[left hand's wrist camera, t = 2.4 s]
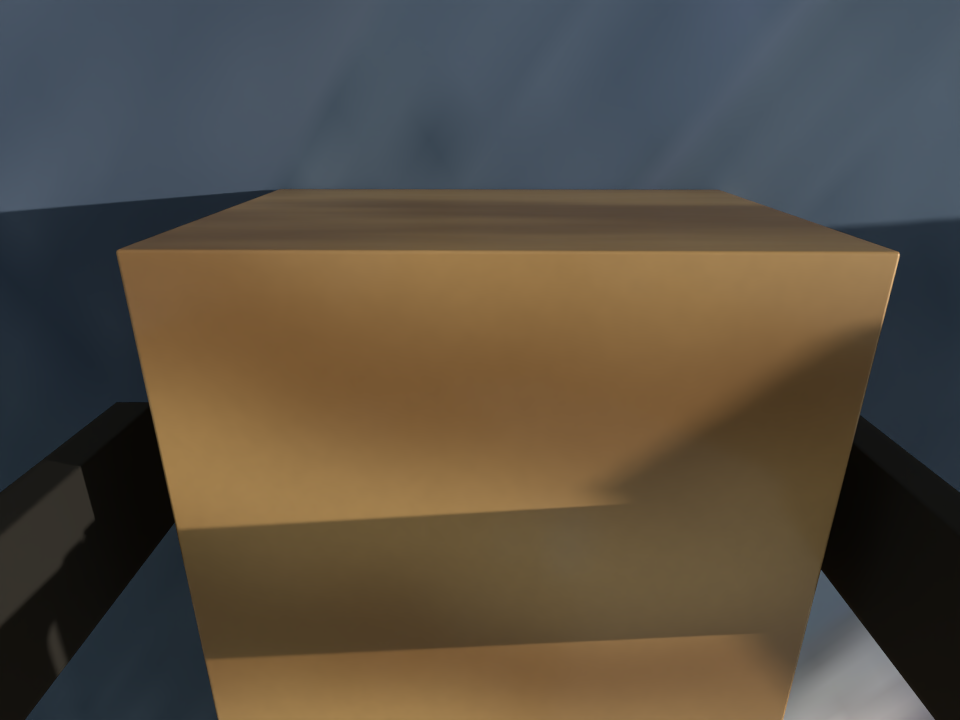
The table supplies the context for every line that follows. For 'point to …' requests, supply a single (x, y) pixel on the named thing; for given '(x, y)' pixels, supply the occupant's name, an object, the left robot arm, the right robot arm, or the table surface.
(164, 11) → the table surface
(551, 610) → the wide beam
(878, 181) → the table surface
